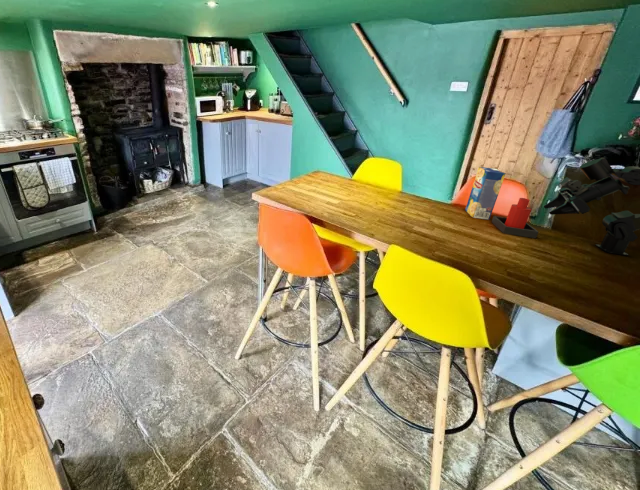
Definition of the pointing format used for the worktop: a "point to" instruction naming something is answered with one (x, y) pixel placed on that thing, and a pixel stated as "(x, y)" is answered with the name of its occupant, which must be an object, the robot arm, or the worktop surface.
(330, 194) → the worktop surface
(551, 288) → the worktop surface
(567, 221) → the worktop surface
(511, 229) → the tray
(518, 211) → the ketchup bottle
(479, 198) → the cracker box
